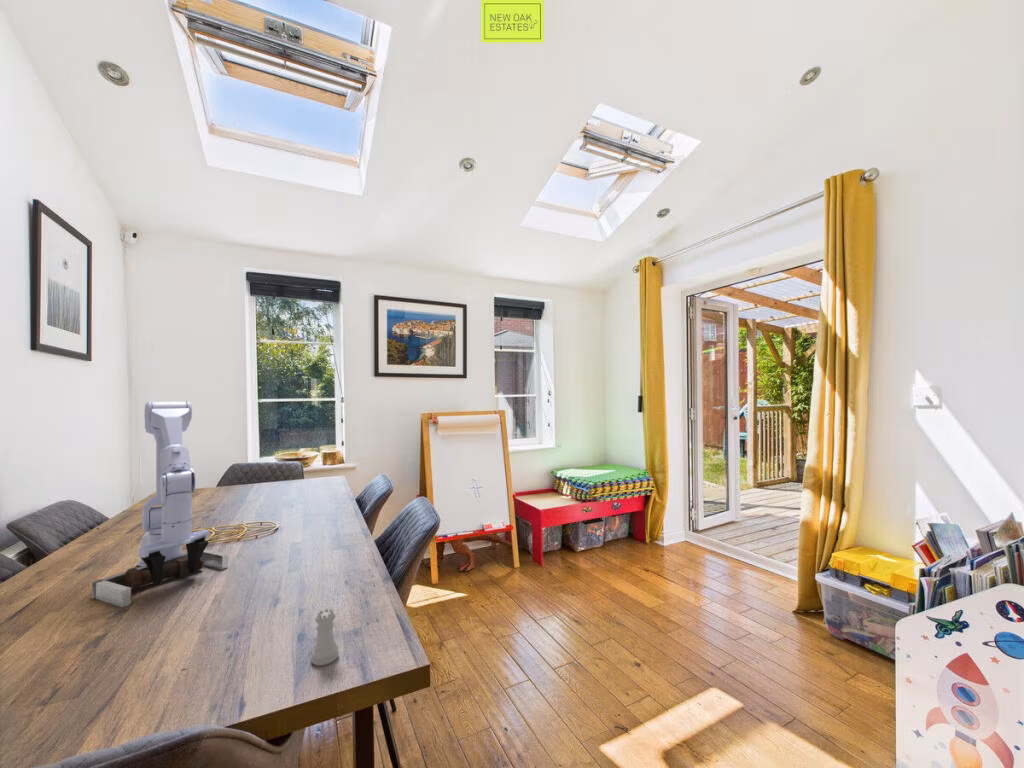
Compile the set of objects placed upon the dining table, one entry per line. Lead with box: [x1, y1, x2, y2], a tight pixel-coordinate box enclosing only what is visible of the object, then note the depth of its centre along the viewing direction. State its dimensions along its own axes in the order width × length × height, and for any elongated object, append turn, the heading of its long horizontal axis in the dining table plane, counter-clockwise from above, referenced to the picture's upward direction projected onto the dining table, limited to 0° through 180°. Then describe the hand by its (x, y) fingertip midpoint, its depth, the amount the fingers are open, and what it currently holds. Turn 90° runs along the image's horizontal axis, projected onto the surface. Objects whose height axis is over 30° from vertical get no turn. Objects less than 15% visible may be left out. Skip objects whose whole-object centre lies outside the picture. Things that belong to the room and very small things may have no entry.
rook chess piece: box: [310, 608, 339, 667], centre depth 74 cm, size 4×4×8 cm
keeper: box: [91, 548, 229, 608], centre depth 104 cm, size 12×23×4 cm, turn 158°
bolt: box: [124, 558, 204, 594], centre depth 105 cm, size 6×5×15 cm
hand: (175, 577), depth 103 cm, fingers open, 7 cm apart
